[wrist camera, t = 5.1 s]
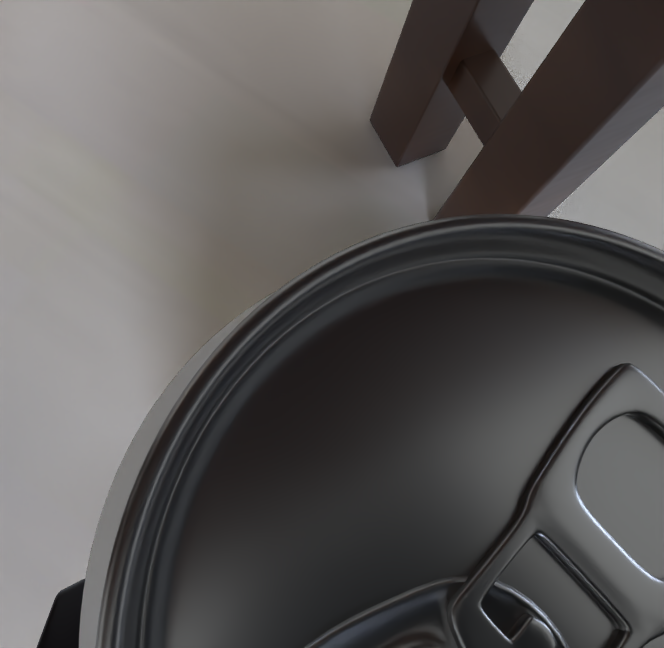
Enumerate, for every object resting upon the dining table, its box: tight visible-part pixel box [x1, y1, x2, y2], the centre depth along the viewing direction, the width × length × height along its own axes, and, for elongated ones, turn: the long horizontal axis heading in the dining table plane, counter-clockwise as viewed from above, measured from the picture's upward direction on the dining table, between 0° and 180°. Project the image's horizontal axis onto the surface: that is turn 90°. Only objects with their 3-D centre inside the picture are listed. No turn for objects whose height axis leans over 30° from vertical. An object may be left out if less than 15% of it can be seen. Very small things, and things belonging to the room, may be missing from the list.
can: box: [79, 214, 664, 648], centre depth 9 cm, size 6×6×12 cm
